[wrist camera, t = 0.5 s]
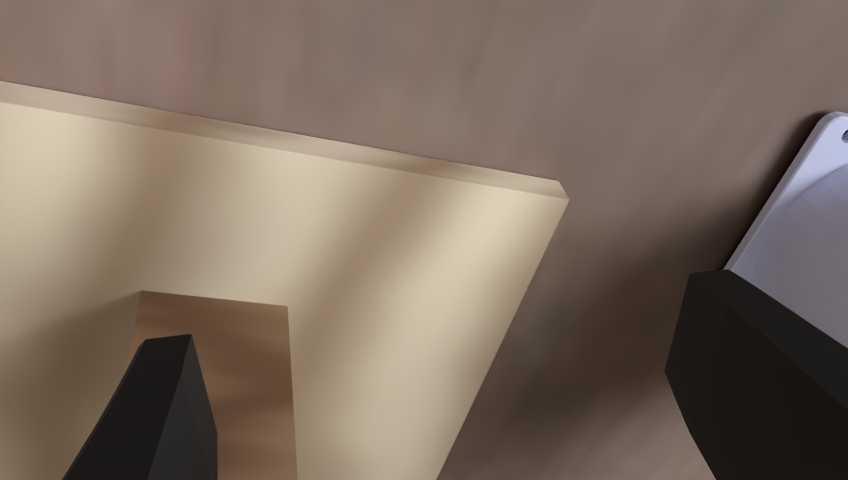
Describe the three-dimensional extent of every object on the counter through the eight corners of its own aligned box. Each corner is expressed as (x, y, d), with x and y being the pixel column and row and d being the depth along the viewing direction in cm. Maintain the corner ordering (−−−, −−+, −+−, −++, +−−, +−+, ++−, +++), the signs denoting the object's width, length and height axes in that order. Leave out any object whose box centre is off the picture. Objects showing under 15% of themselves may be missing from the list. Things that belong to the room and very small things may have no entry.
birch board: (558, 180, 22) (569, 199, 22) (405, 512, 31) (410, 535, 30) (-537, -16, 15) (-582, 2, 14) (-340, 495, 23) (-360, 524, 22)
